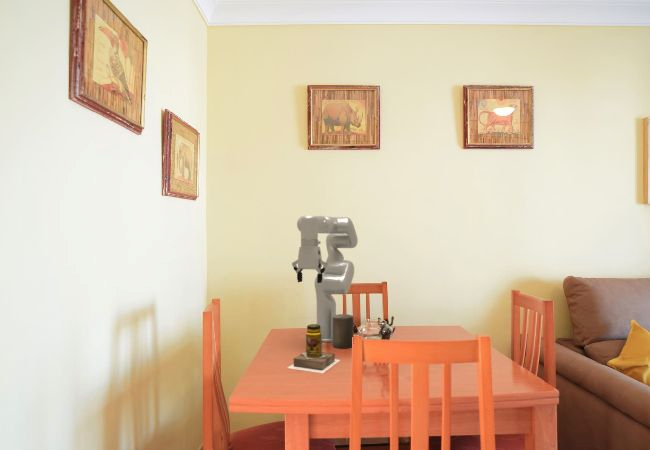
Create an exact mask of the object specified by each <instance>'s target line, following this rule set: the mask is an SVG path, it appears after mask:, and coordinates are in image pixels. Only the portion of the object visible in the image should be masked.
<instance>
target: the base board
mask: <svg viewBox="0 0 650 450" xmlns="http://www.w3.org/2000/svg"><path fill="white" fill-rule="evenodd" d="M340 361H341V359H336V358H335V361H334V362H333V363H332V364H330V365H329V366H327V367H326V368H325V369H323V370H315V369H308V368H301V367H295V366H294V363H293V364H291V365H289V366H287V369H293V370H298V371H299V370H300V371H305V372H313V373H317V374H325V372H327V371H328V370H330V368H332V367H333V366H335V365H336V364H337V363H338V362H340Z"/></svg>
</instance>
